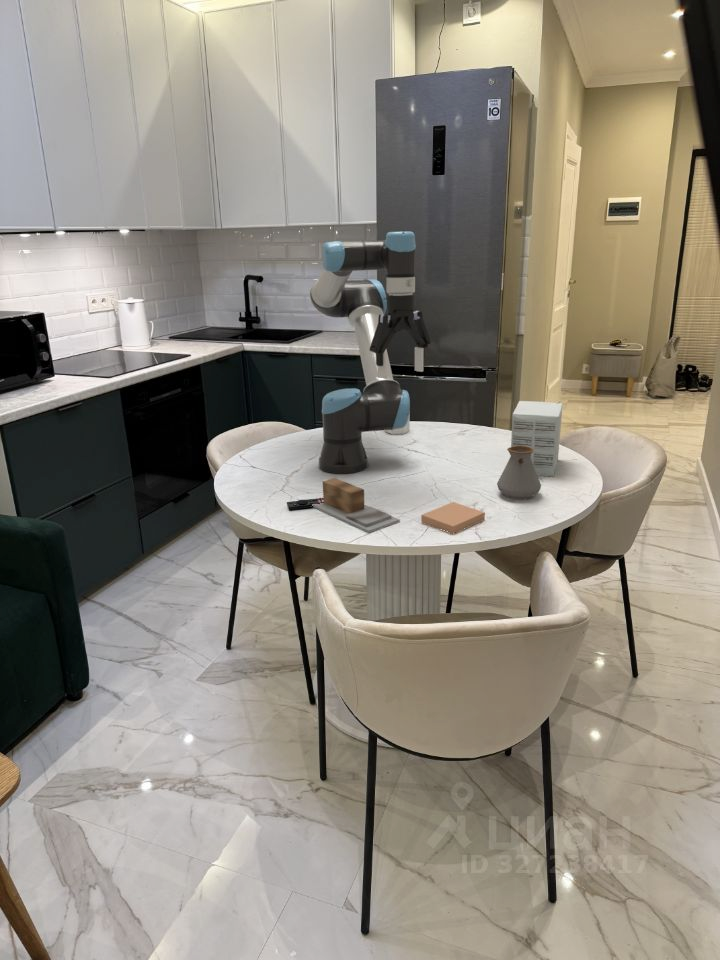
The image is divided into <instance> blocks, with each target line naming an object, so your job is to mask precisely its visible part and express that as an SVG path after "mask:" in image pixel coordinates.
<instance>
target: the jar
mask: <svg viewBox="0 0 720 960" xmlns="http://www.w3.org/2000/svg"><path fill="white" fill-rule="evenodd" d="M410 413H411V412H410V411H409V418H408V422H407V424H406V425H405V427H403V428H399V429H393V430H384V432H385V433H387V434H389V433H390V435H392V434H393V435H405V434H407V433H408V432H410V428H411V427H410V425H411V424H410V418H411V417H410Z"/></svg>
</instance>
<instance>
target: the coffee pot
mask: <svg viewBox="0 0 720 960" xmlns="http://www.w3.org/2000/svg"><path fill="white" fill-rule="evenodd" d="M507 451H508V453H509V455H510V456H511V457H509V459H508V461H507V462H506V465H505V467H504V469H503V471H502V473H501V475H500V476H499V479H498V480H497V483H496V485H497V488H498V490H499V491H500V493H501V494H503V495H504V496H505V498H508V499H510V498H511V500H516V499H517V501H519V500H521V501H523V500H524V501H525V499H526V500H530V499H532V498H534V496H535V495H537V494H539V492H540V490H541V488H542V484H541V481H540V480H539V475H537V473H536V471H535V468H534V465H533V463H532V460H531V453H532V452H533V451H534V450H533V449H532V448H530V447H527V446H513V447H511V446H510V447H508V448H507Z"/></svg>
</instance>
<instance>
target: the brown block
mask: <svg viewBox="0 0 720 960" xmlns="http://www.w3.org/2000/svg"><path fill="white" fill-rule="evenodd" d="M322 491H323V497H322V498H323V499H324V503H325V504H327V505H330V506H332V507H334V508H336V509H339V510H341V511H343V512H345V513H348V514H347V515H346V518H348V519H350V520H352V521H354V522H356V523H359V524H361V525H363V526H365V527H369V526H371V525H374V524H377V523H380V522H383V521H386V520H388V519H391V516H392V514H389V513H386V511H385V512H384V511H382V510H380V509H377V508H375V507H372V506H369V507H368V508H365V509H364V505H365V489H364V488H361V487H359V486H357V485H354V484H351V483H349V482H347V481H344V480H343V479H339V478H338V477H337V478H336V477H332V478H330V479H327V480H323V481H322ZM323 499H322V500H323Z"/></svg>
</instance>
